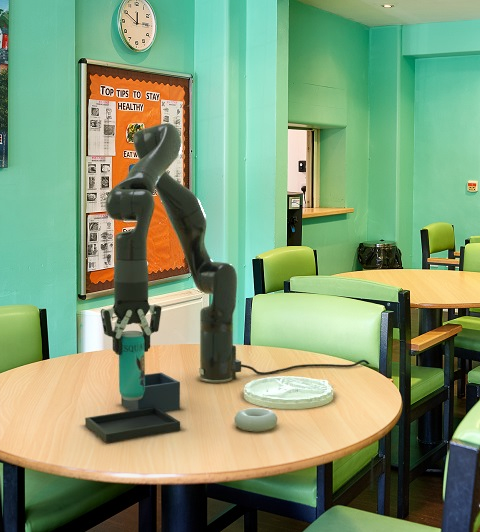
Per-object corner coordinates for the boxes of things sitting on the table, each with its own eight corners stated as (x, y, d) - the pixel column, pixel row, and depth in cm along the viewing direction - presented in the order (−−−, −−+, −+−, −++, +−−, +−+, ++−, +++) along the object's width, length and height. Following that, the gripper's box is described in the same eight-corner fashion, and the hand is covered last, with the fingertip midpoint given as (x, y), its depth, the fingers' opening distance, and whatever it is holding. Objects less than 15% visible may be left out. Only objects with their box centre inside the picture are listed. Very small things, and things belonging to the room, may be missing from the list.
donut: (275, 420, 194) (233, 420, 193) (275, 406, 193) (233, 405, 192) (279, 433, 184) (234, 433, 183) (279, 419, 183) (235, 418, 182)
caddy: (161, 398, 210) (161, 372, 209) (180, 409, 201) (180, 382, 200) (121, 405, 204) (120, 377, 203) (138, 416, 195) (138, 388, 194)
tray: (156, 414, 196) (156, 406, 196) (180, 430, 185) (180, 421, 185) (85, 426, 187) (85, 417, 187) (106, 443, 176) (106, 434, 175)
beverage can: (139, 402, 182) (139, 336, 180) (115, 400, 183) (114, 334, 181) (148, 395, 188) (148, 331, 186) (125, 393, 189) (124, 329, 187)
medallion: (224, 396, 213) (224, 387, 213) (293, 377, 233) (293, 369, 232) (292, 415, 197) (292, 405, 197) (359, 393, 217) (359, 384, 217)
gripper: (106, 283, 175) (107, 359, 177) (167, 278, 183) (168, 352, 185) (94, 278, 181) (95, 352, 183) (154, 274, 189) (154, 346, 191)
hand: (131, 352), depth 184 cm, fingers closed on beverage can, 5 cm apart
